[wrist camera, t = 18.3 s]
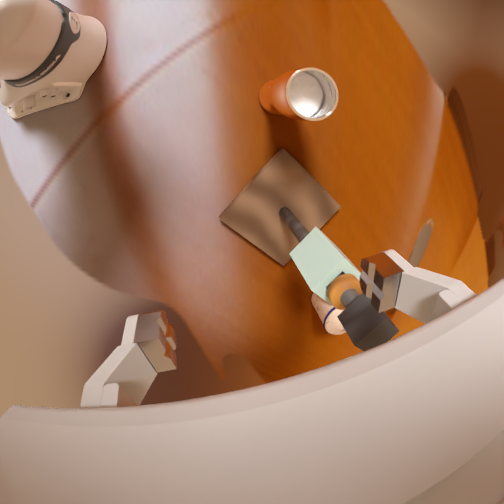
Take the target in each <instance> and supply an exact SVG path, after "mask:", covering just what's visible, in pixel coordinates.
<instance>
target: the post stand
mask: <svg viewBox="0 0 504 504" xmlns="http://www.w3.org/2000/svg"><path fill="white" fill-rule="evenodd" d="M340 208H341V206H340V205H339V204H338V203H337V202H336V201H335V200H334V199H333V198H332V197H331V195H330V194H329V193H328V192H327V191H326V190H325V189H324V188H323V187H322V186H321V185H320V184H319V183H318V182H317V181H316V180H315V179H314V178H313V177H312V176H311V175H310V174H309V173H308V172H307V171H306V170H305V169H304V168H303V167H302V166H301V165H300V164H299V163H298V162H297V161H296V160H295V159H294V158H293V157H292V156H291V155H290V154H289V153H288V152H287V151H286V150H285V149H283V148H280V149H279V150H278V151H277V153H276V154H275V155H274V156H273V157H272V158H271V159H270V160H269V161H268V162H267V163H266V164H265V165H264V167H263V168H262V169H261V170H260V171H259V172H258V173H257V174H256V175H255V176H254V178H253V179H252V180H251V181H250V182H249V183H248V184H247V185H246V186H245V188H244V189H243V190H242V191H241V192H240V193H239V194H238V195H237V197H236V198H235V199H234V200H233V201H232V202H231V203H230V205H229V206H228V207H227V208H226V209H225V210H224V212H223V213H222V214H221V215H220V216H219V218H220V220H221V221H222V222H224V223H225V224H227V225H228V226H229V227H231V228H232V229H233V230H235V231H236V232H238V233H239V234H240V235H242V236H243V237H244V238H246V239H247V240H248V241H250V242H251V243H253V244H254V245H255V246H257V247H258V248H259V249H261V250H262V251H264V252H265V253H266V254H268V255H269V256H270V257H272V258H273V259H274V260H276V261H277V262H279V263H280V264H281V265H283V266H285V265H286V264H287V263H288V262H289V261H290V260H291V259H292V258H291V256H290V254H289V253H290V252H291V251H292V250H293V249H294V248H295V247H296V246H297V245H298V244H299V243H300V242H301V241H302V240H303V239H304V238H305V237H306V236H307V235H308V234H309V233H310V232H311V231H312V230H313V229H314V228H315V227H317V228H318V229H319V230H320V229H321V228H322V227H323V226H324V224H325V223H326V222H327V221H328V220H329V219H330V218H331V217H332V216H333V215H334V214H335V213H336V212H337V211H338V210H339V209H340ZM327 296H328V298H329V299H330V301H331V303H332V304H333V306H334V307H335V308H336V309H339V310H344V311H342V312H341V313H340V314H339V315H338V316H337V317H338V319H339V321H340V322H341V324H342V326H343V327H344V329H345V330H346V332H347V334H348V335H349V337H350V339H351V340H352V342H353V344H354V345H355V346H356V347H358V348H360V349H361V350H363V351H367V350H369V349H372V348H374V347H376V346H379V345H381V344H384V343H386V342H388V341H389V340H390V339H391V338H392V337H393V336H394V335H395V334H396V333H398V332H399V330H398V329H397V328H396V326H395V325H394V324H393V322H392V321H391V320H390V318H389V317H388V316H387V315H386V313H385V312H384V311H383V312H380V313H378V312H377V310H376V309H375V308H374V306H373V305H372V304H371V298H368V297H366V296H365V295H364V294H363V292H362V290H361V287H360V283H359V280H358V279H357V278H356V277H355V276H354V275H353V274H343V273H342V272H341V273H340V274H339V275H338V276H337V277H336V278H335V279H334V280H333V281H332V282H331V283H330V284H329V287H328V290H327Z"/></svg>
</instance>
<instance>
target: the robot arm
mask: <svg viewBox="0 0 504 504" xmlns="http://www.w3.org/2000/svg"><path fill="white" fill-rule="evenodd" d="M106 43H107V37H106V31H105V29H104V26H103V25H102V24H101V22H100V21H99V20H97V19H96V18H94V17H91V16H85V15H80V14H77V13H74V12H72V11H71V10H70V9H69V8H67V7H66V6H64V5H62V4H61V3H59V2H57V1H54V0H0V101H1V103H2V104H3V105H4V106H5V108H6V110H7V112H8V114H9V115H10V116H11V117H12V118H13V119H17V118H20V117H23V116H26V115H29V114H32V113H35V112H38V111H41V110H44V109H47V108H50V107H54V106H57V105H60V104H64V103H68V102H72V101H75V100H77V99H79V98H80V96H81V94H82V92H83V89H84V87H85V84H86V82H87V80H88V79H89V77H90V76H91V75H92V74H93V72H94V71H95V70H96V68H97V67H98V65H99V64H100V62H101V60H102V58H103V55H104V52H105V49H106ZM68 93H70V96H69V97H67V94H68ZM10 107H11V108H10ZM360 267H361V269H362V270H363V271H362V273H361V275H360V280H359V283H360V287H361V290H362V292H363V294H364V295H365V296H366V297H368V298H371V304H372V305H373V306H374V308H375V309H376V310H377V312H378V313H380V312H383V311H386V310H388V309H391V308H394V307H395V308H396V309H398V310H400V311H402V312H404V313H406V314H408V315H410V316H411V317H413V318H415V319H417V320H419V321H421V322H423V323H425V325H423V326H420V327H418V328H416V329H414V330H412V331H410V332H408V333H406V334H404V335H402V336H399V337H397V338H395V339H393V340H390V341H388V342H386V343H384V344H381V345H379V346H376V347H374V348H372V349H369V350H367V351H364V352H362V353H359V354H357V355H354V356H351V357H349V358H346V359H343V360H340V361H338V362H335V363H332V364H329V365H326V366H323V367H320V368H317V369H314V370H311V371H308V372H305V373H302V374H298V375H295V376H291V377H288V378H285V379H281V380H277V381H274V382H270V383H266V384H262V385H258V386H254V387H250V388H246V389H242V390H237V391H232V392H228V393H223V394H218V395H212V396H207V397H201V398H195V399H190V400H183V401H176V402H169V403H160V404H152V405H142V406H139V405H140V403H141V401H142V400H143V398H144V396H145V394H146V393H147V391H148V389H149V387H150V385H151V384H152V382H153V380H154V379H155V377H156V375H157V373H158V372H163V371H168V370H173V369H177V356H176V354H175V352H174V350H175V349H176V347H177V345H176V342H177V341H176V336H175V333H174V330H173V327H172V325H170V324H169V323H167V315H166V313H165V312H164V311H163V310H159V311H153V312H148V313H142V314H137V315H132V316H129V317H128V318H127V319H126V324H125V328H124V333H123V338H122V343H121V346H118V347H117V348H116V349H115V350H114V351H113V352H112V353H111V355H110V356H109V357H108V358H107V359H106V360H105V361H104V363H103V364H102V365H101V366H100V367H99V368H98V369H97V371H96V372H95V373H94V374H93V375H92V377H91V378H90V379H89V380H88V381H87V382H86V384H85V385H84V390H83V394H82V399H81V405H80V408H79V409H78V408H44V407H29V406H22V405H15V406H12V407H11V408H10V409H9V410H8V411H7V412H5V413H4V415H3V416H2V417H1V418H0V504H504V278H503V279H501V280H500V281H498V282H497V283H495V284H494V285H492V286H491V287H489V288H488V289H486V290H485V291H483V292H482V293H480V294H478V295H476V294H475V293H473V292H472V291H471V290H470V289H469V288H468V287H467V286H466V285H465V284H464V283H463V282H462V281H460V280H456V279H453V278H450V277H447V276H444V275H441V274H438V273H434V272H431V271H428V270H425V269H422V268H418V267H415V268H414V267H413V266H411V265H410V264H409V263H408V262H407V261H406V260H405V259H404V258H403V257H401V256H400V255H399V254H398V253H397V252H396V251H395V250H392V249H390V250H387V251H384V252H382V253H379V254H376V255H373V256H369V257H366V258H363V259H362V260H361V265H360Z"/></svg>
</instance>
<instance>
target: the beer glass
mask: <svg viewBox="0 0 504 504" xmlns="http://www.w3.org/2000/svg"><path fill="white" fill-rule="evenodd" d="M338 98H339V95H338V89H337V86H336V84H335V82H334V80H333V79H332V78H331V77H330V76H329V75H328V74H327V73H326V72H324V71H322V70H320V69H317V68H302V69H295V70H291V71H288V72H286V73H284V74H282V75H281V76H279V77H278V78H277V79H276V80H271V81H268V82H267V83H265V84H264V85H263V86H262V88H261V90H260V92H259V101H260V104H261V105H262V107H263V108H264V109H265V110H266V111H267V112H269V113H272V114H276V115H279V114H282V115H284V116H285V117H288V118H290V119H294V120H300V121H319V120H322V119H325V118H327V117H328V116H330V115H331V114H332V113H333V111H334V110H335V108H336V106H337V104H338Z"/></svg>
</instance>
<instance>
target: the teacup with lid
mask: <svg viewBox="0 0 504 504" xmlns="http://www.w3.org/2000/svg"><path fill="white" fill-rule="evenodd" d="M311 301H312V305H313V306H314V308H315V310H316V312H317V314H318V315H319V317H320V319H321V321H322V323H323V325H324V329H325V330H326V331H327V332H328V333H330V334H334V335H338V334H343V333H345V332H346V330H345V329H344V327H343V326H342V324H341V322H340V321H339V319H338V317H337V316H338V315H339V314H340V313H341V312H342V311H344V310H339V309H336V308H335V307H333V306H332V305H331V304H329V303H328V302H327V301H325V300H324V299H322V298H321V297H320V296H318V295H317V294H316V293H314V292H313V295H312V298H311Z"/></svg>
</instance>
